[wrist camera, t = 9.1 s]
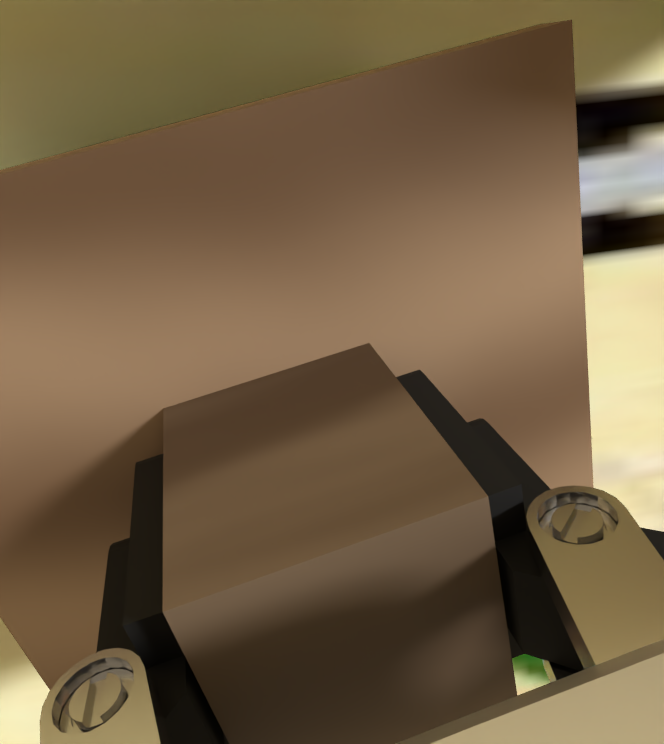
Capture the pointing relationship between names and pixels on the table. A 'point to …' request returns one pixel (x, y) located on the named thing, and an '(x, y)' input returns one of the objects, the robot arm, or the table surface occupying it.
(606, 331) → the table surface
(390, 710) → the lid
